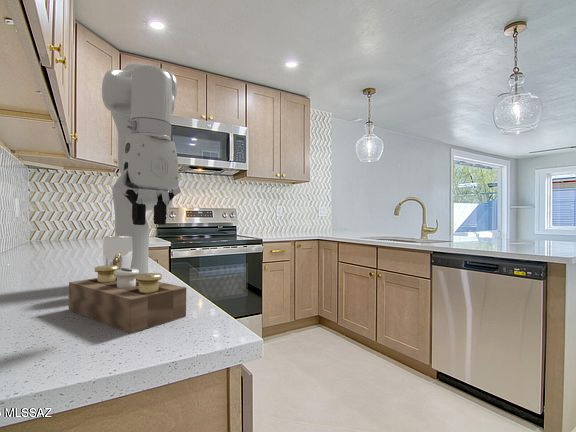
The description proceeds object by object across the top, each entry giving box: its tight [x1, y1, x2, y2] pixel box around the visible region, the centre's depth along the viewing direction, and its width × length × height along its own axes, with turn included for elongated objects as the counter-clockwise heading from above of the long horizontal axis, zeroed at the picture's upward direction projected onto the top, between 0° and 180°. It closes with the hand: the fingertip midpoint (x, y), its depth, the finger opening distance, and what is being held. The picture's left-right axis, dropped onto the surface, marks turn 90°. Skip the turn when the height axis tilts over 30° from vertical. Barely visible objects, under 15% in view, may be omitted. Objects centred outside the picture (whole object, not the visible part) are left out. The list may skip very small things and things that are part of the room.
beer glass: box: [102, 235, 133, 270], centre depth 85 cm, size 7×7×15 cm
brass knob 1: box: [94, 265, 119, 284], centre depth 73 cm, size 5×5×6 cm
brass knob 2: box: [136, 272, 163, 295], centre depth 64 cm, size 5×5×6 cm
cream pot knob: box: [114, 268, 139, 289], centre depth 69 cm, size 5×5×6 cm
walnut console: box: [68, 276, 187, 334], centre depth 69 cm, size 24×12×6 cm, turn 57°
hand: (149, 223), depth 64 cm, fingers open, 3 cm apart
